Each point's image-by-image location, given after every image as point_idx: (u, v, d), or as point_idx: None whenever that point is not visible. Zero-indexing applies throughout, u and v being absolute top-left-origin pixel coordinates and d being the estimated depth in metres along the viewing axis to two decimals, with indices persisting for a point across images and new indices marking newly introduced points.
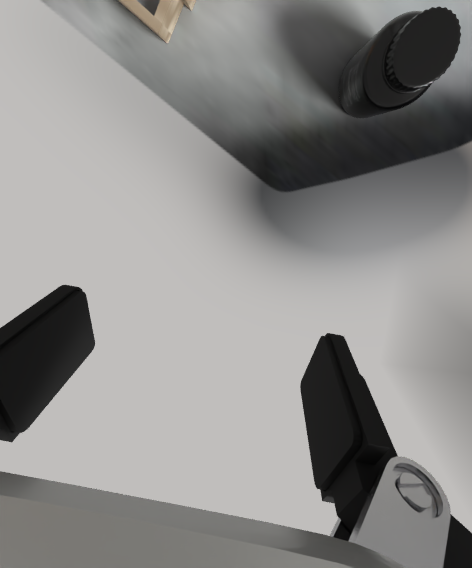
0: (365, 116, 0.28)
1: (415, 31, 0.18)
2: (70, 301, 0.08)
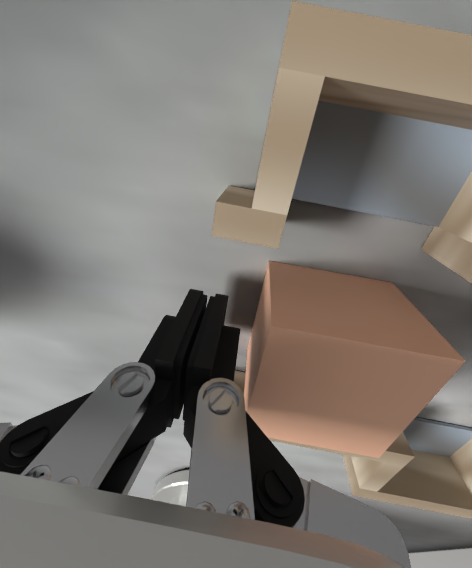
0: None
1: None
2: None
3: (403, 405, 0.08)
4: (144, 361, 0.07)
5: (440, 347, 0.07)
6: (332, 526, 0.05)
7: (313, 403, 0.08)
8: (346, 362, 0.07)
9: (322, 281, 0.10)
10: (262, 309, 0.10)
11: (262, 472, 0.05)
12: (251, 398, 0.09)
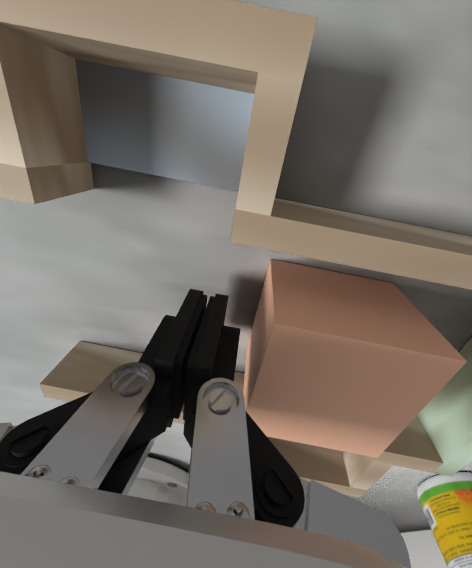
0: None
1: None
2: None
3: (403, 405, 0.08)
4: (144, 361, 0.07)
5: (442, 347, 0.07)
6: (331, 526, 0.05)
7: (314, 403, 0.08)
8: (348, 360, 0.07)
9: (324, 280, 0.10)
10: (263, 307, 0.10)
11: (262, 472, 0.05)
12: (252, 396, 0.09)
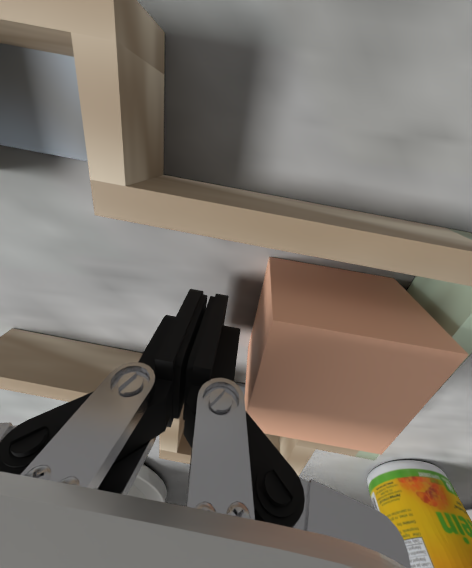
0: None
1: None
2: None
3: (406, 400, 0.08)
4: (144, 361, 0.07)
5: (443, 341, 0.07)
6: (332, 526, 0.05)
7: (315, 399, 0.08)
8: (348, 356, 0.07)
9: (323, 276, 0.10)
10: (263, 305, 0.10)
11: (262, 472, 0.05)
12: (252, 394, 0.09)
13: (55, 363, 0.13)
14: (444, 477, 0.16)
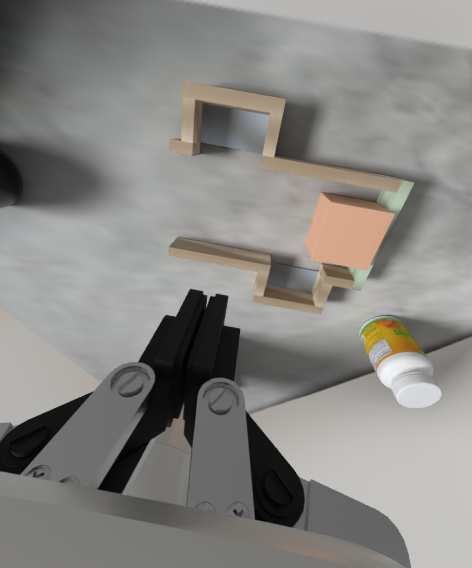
0: None
1: None
2: None
3: (375, 237, 0.22)
4: (144, 361, 0.07)
5: (388, 211, 0.21)
6: (332, 526, 0.05)
7: (342, 239, 0.22)
8: (355, 217, 0.21)
9: (345, 198, 0.24)
10: (320, 210, 0.24)
11: (262, 472, 0.05)
12: (318, 238, 0.23)
13: (207, 249, 0.27)
14: (400, 322, 0.30)
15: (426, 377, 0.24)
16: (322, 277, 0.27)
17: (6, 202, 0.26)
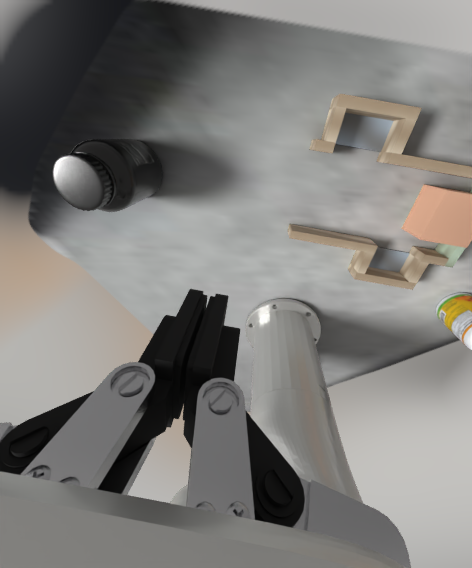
0: None
1: (95, 189, 0.22)
2: None
3: None
4: (144, 361, 0.07)
5: None
6: (332, 526, 0.05)
7: (450, 221, 0.27)
8: (465, 202, 0.26)
9: (446, 188, 0.29)
10: (426, 198, 0.29)
11: (262, 472, 0.05)
12: (430, 221, 0.27)
13: (320, 232, 0.32)
14: None
15: None
16: (417, 257, 0.32)
17: (152, 192, 0.31)
